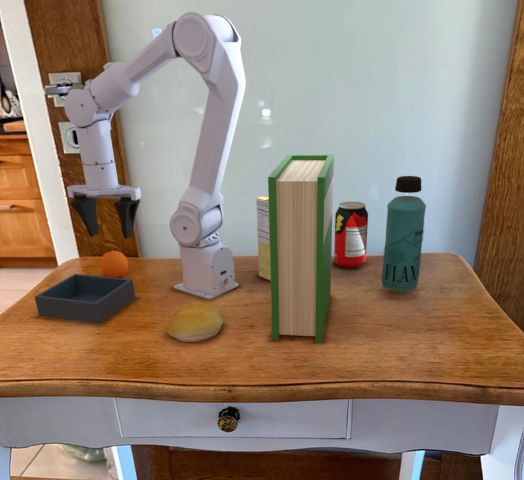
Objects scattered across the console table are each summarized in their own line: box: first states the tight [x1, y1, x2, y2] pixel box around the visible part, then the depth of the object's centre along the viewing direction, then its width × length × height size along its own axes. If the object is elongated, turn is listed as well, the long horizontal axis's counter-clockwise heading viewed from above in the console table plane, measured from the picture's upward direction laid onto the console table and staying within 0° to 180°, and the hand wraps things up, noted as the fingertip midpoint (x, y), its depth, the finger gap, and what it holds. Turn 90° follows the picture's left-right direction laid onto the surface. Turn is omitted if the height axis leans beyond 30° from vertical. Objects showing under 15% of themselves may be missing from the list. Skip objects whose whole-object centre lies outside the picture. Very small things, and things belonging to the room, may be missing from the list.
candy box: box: [256, 194, 271, 282], centre depth 105 cm, size 9×4×15 cm, turn 129°
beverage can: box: [333, 201, 369, 269], centre depth 109 cm, size 6×6×12 cm
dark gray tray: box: [34, 273, 136, 325], centre depth 96 cm, size 12×11×4 cm
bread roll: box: [166, 301, 224, 343], centre depth 86 cm, size 8×9×4 cm
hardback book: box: [267, 154, 335, 343], centre depth 85 cm, size 18×7×24 cm, turn 170°
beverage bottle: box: [380, 175, 427, 292], centre depth 94 cm, size 6×7×20 cm
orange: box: [99, 249, 129, 278], centre depth 109 cm, size 5×5×6 cm
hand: (111, 236), depth 106 cm, fingers open, 7 cm apart
